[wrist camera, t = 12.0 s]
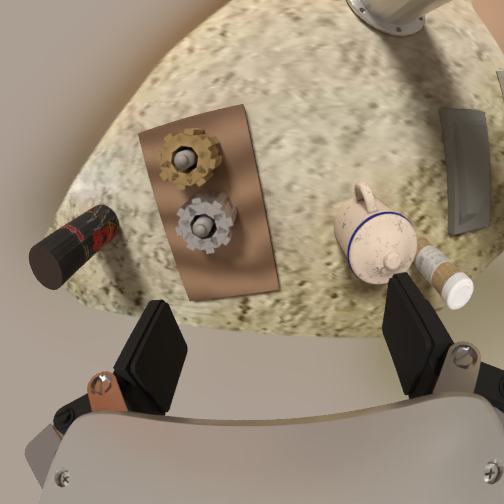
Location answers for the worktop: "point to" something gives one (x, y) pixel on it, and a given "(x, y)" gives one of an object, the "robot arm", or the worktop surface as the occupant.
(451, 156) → the soap mold
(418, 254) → the sprinkles bottle
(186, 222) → the silver gear
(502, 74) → the supplement box
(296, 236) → the worktop surface
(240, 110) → the gear board
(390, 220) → the teacup with lid
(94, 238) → the deodorant
